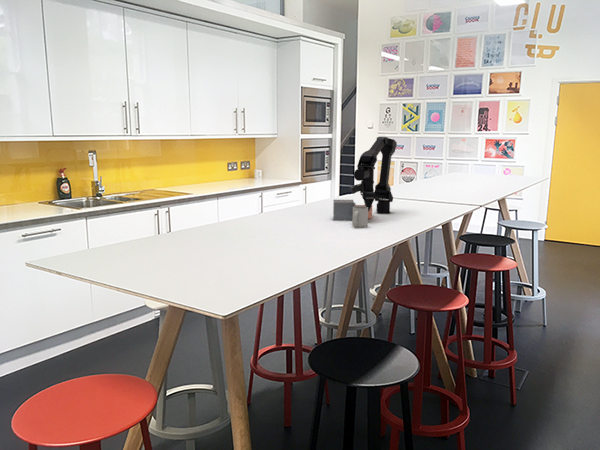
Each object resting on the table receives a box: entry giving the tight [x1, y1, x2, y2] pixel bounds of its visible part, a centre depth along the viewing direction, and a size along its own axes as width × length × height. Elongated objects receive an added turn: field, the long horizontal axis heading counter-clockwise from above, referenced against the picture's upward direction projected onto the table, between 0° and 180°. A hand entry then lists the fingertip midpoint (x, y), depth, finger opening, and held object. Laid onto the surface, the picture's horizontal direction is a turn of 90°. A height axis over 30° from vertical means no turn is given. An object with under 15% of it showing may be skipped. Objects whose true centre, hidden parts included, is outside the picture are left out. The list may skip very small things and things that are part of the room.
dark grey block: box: [332, 199, 357, 221], centre depth 257 cm, size 11×10×9 cm
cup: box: [351, 206, 369, 229], centre depth 237 cm, size 7×10×9 cm
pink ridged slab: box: [354, 204, 373, 220], centre depth 257 cm, size 17×2×7 cm, turn 87°
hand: (367, 209), depth 256 cm, fingers open, 9 cm apart
